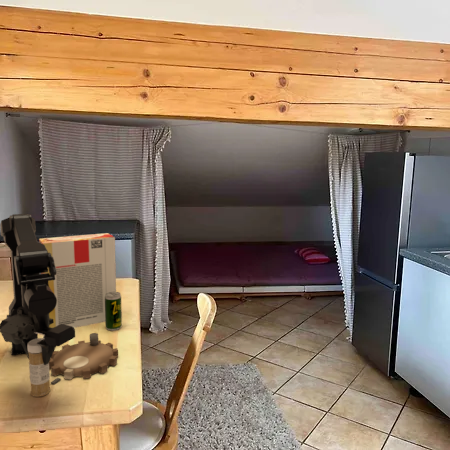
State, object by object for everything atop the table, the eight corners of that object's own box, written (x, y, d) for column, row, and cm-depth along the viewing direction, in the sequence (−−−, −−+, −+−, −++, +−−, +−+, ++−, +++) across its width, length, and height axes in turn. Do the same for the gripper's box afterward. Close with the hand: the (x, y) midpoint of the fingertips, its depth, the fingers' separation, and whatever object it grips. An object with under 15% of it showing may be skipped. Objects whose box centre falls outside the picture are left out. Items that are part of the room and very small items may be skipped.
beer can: (102, 328, 140) (101, 294, 137) (113, 323, 144) (112, 290, 142) (113, 332, 137) (113, 297, 135) (125, 326, 142) (124, 293, 140)
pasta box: (110, 312, 154) (107, 233, 149) (116, 319, 148) (114, 237, 142) (43, 324, 142) (39, 238, 137) (47, 332, 136) (43, 243, 130)
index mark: (57, 379, 108) (57, 377, 108) (60, 380, 108) (60, 378, 108) (50, 384, 106) (50, 382, 106) (54, 384, 106) (53, 383, 105)
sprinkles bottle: (45, 385, 105) (43, 335, 103) (53, 392, 102) (51, 341, 100) (27, 392, 102) (24, 341, 100) (35, 400, 99) (31, 347, 97)
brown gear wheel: (33, 376, 109) (32, 358, 108) (68, 344, 128) (68, 328, 127) (102, 382, 107) (101, 364, 106) (127, 348, 125) (127, 333, 124)
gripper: (-24, 306, 94) (-19, 369, 97) (38, 320, 87) (42, 388, 90) (17, 291, 104) (21, 349, 107) (75, 303, 97) (78, 364, 100)
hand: (38, 362), depth 101 cm, fingers closed on sprinkles bottle, 4 cm apart
